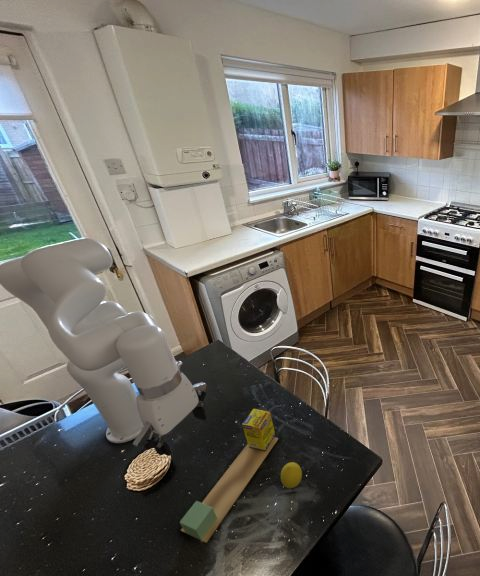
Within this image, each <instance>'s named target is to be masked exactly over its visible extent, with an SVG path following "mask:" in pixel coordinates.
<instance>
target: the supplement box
mask: <svg viewBox="0 0 480 576" xmlns="http://www.w3.org/2000/svg"><path fill="white" fill-rule="evenodd" d="M241 425H242V429H243V432H244V436H245V439H246V442H247V444H248V446H249V448H253V449H257V450H262V451H266V450H267V448H268V446H269V445H270V443H271V441H272V440H273V438H274V437H276V431H275V428H274V423H273V418H272V415H271V411H268V410H261V409H257V408H252V410H251V411H250V413H249V414H248V415H247V417H246V418H245V419H244V421H243V422H242V424H241Z"/></svg>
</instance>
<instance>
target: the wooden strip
mask: <svg viewBox="0 0 480 576" xmlns="http://www.w3.org/2000/svg"><path fill="white" fill-rule="evenodd" d="M279 439H280V438H279V437H276V436H274V438H273V440H272V441H271V443H270V445H269V446H268V448H267V450H266V451H262V450H257V449H253V448H249V446H248V443H247V444H246V445H245V446H244V447H243V449H242V450H241V451H240V453H239V454H238V455H237V457H236V458H235V459H234V460H233V462H231V464H230V466H229V467H228V468H227V470H225V472H224V473H223V474H222V475H221V477H220V479H219V480H218V481H217V482H216V484H215V485H214V486H213V488H212V489H211V490H210V492H209V493H208V494H207V495H206V497H204V499H203V500H202V501H201V503H203V504H205V505H207V506H210V507H212V508H213V510H214V512H215V514H216V516H217V519H216V521H215V522H214V523H213V525H212V526H211V528H210V529H209V531H208V532H207V533H206V535H205V536H204V538H203V539H202V540H200V539H198V538H196V539H198V540H199V541H201V542H204V543H206V544H207V543H208V542H209V540H210V539H211V537H212V536H213V534H214V533H215V532H216V530H217V529H218V527H219V526H220V524H221V523H222V522H223V520H224V518H225V517H226V516H227V515H228V513H229V512H230V510H231V508H232V507H233V506H234V504H235V503H236V502H237V500H238V498H239V497H240V496H241V494H242V493H243V491H244V490H245V488H246V487H247V485H248V484H249V482H250V481H251V479H253V477H254V475H255V474H256V472H257V471H258V469H259V468H260V467H261V465H262V464H263V462H264V461H265V459H266V458H267V456H268V455H269V454H270V452H271V450H272V449H273V448H274V446H275V444H276V443H277V442H278V440H279ZM180 531H181V532H182V533H185V531H184V529H183V528H182V527H181V529H180Z"/></svg>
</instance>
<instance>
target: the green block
mask: <svg viewBox="0 0 480 576" xmlns="http://www.w3.org/2000/svg"><path fill="white" fill-rule="evenodd" d="M216 519H217V516H216V514H215V512H214V510H213V508H212V507H210V506H207V505H205V504H203V503H202V501H198V500H195V502H194V503H193V504H192V506H191V507H190V508H189V510H187V511H186V513H185V514H184V516H182V518H181V519H180V521H179V524H180V527H181V529H182V528H183V529H184V531H185V532H184V534H187V535H189V536H191V537H193V538H194V539H197V538H198V540H199V539H200V540H199V541H201V540H202V539H203V538H204V536H205V535H206V533H207V532H208V531H209V529H210V528H211V526H212V525H213V523H214V522H215V521H216Z"/></svg>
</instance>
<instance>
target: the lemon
mask: <svg viewBox="0 0 480 576" xmlns="http://www.w3.org/2000/svg"><path fill="white" fill-rule="evenodd" d="M302 477H303V470H302V468H301V466H300V465H299V464H298V463H297V462H294V461H291V462H290V461H289V462H288V463H286V464H285V465H283V467H282V468H281V471H280V481H281V484H282V485H283V486H284V487H285V488H287V489H294V488H296V487H297V486H299V484H300V483H301V481H302Z"/></svg>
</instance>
